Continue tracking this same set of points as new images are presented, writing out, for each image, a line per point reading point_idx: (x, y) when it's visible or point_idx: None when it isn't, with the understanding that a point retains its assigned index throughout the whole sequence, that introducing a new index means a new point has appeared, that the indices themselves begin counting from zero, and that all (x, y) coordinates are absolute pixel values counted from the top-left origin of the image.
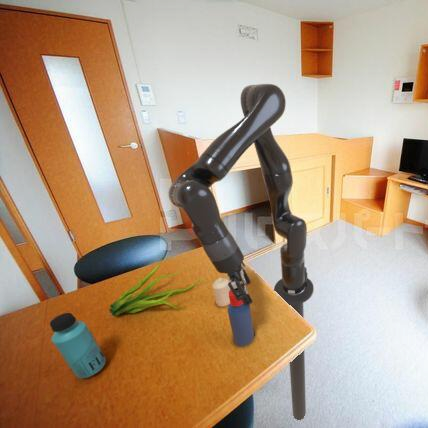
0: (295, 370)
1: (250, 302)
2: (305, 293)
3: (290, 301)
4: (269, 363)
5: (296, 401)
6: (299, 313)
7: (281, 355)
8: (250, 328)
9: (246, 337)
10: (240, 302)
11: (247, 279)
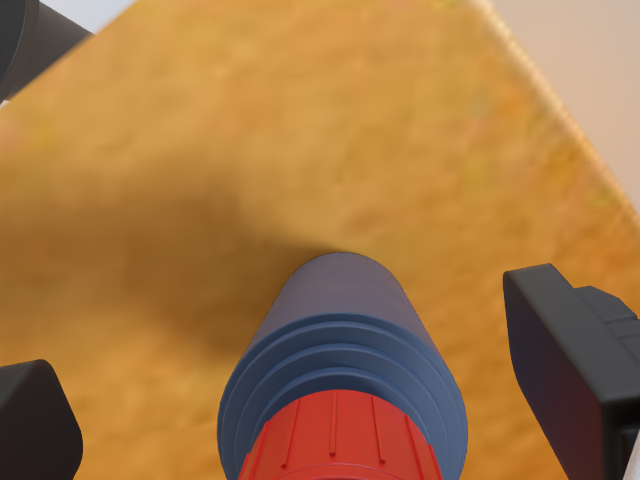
0: None
1: (599, 294)
2: None
3: (14, 13)
4: (551, 128)
5: None
6: (42, 10)
7: (507, 52)
8: (381, 277)
9: (408, 299)
10: (426, 448)
11: (7, 440)
